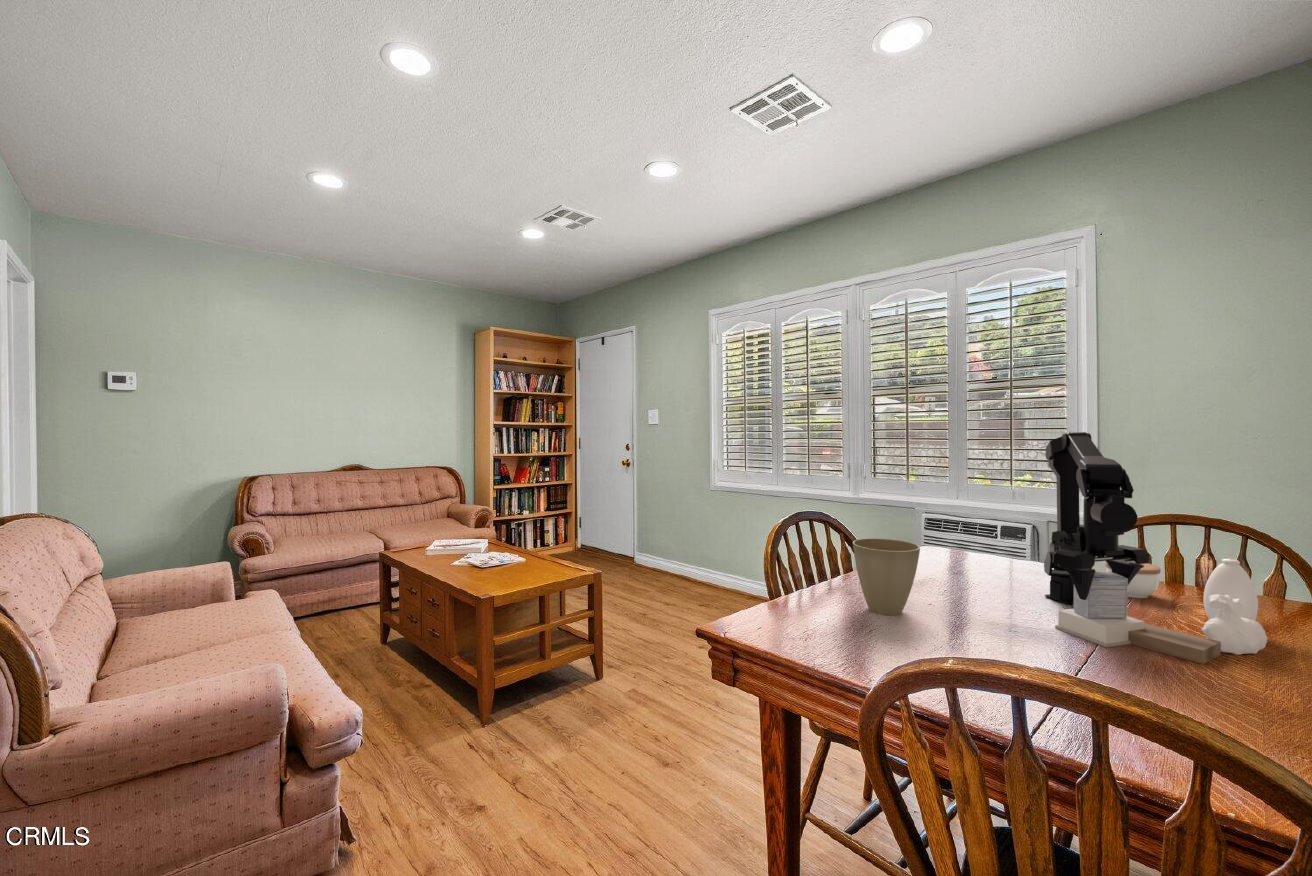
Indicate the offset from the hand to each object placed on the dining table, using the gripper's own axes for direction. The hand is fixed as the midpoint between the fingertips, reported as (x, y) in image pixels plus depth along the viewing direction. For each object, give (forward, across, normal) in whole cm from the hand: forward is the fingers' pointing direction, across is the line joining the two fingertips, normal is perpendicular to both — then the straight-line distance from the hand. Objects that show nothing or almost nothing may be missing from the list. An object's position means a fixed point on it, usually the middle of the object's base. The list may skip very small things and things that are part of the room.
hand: (1100, 597), depth 116 cm
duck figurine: (+8, -17, +12) cm, 22 cm away
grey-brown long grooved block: (+8, -6, +9) cm, 13 cm away
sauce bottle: (+8, -27, +6) cm, 29 cm away
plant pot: (+8, +33, -25) cm, 42 cm away
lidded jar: (+8, -35, -19) cm, 41 cm away
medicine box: (+4, 0, 0) cm, 4 cm away
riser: (+8, 0, 0) cm, 8 cm away
